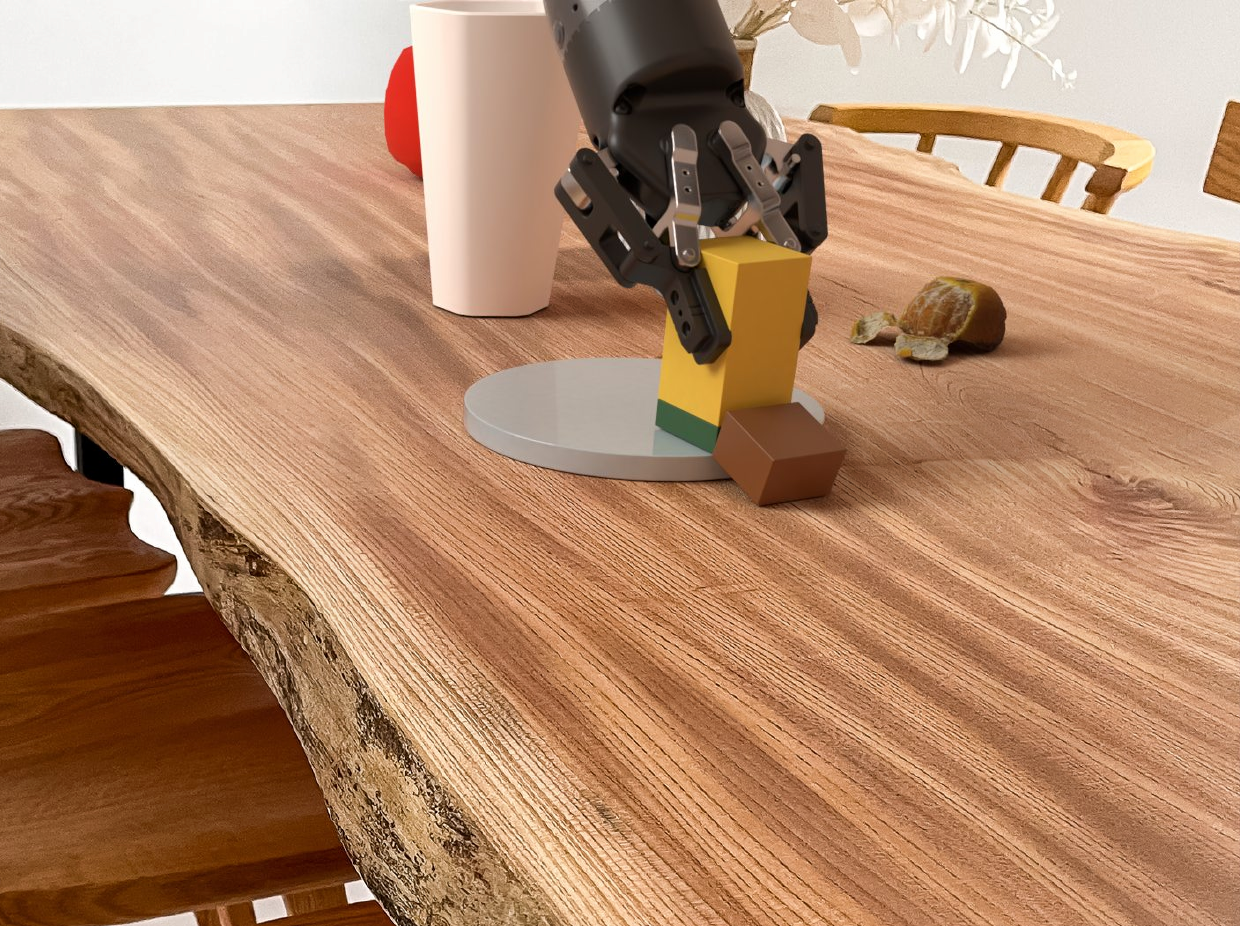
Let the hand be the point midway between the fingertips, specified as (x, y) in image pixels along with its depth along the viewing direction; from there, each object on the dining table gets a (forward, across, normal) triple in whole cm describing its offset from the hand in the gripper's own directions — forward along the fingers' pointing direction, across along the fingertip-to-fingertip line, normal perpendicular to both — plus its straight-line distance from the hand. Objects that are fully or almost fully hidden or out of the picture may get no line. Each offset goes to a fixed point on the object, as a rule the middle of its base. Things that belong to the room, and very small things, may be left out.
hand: (757, 348), depth 80 cm
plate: (-2, 0, +10) cm, 10 cm away
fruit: (-7, +24, +16) cm, 30 cm away
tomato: (-52, +27, +60) cm, 84 cm away
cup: (-21, +6, +29) cm, 36 cm away
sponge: (+2, 0, +5) cm, 5 cm away
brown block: (+5, 0, +2) cm, 6 cm away
